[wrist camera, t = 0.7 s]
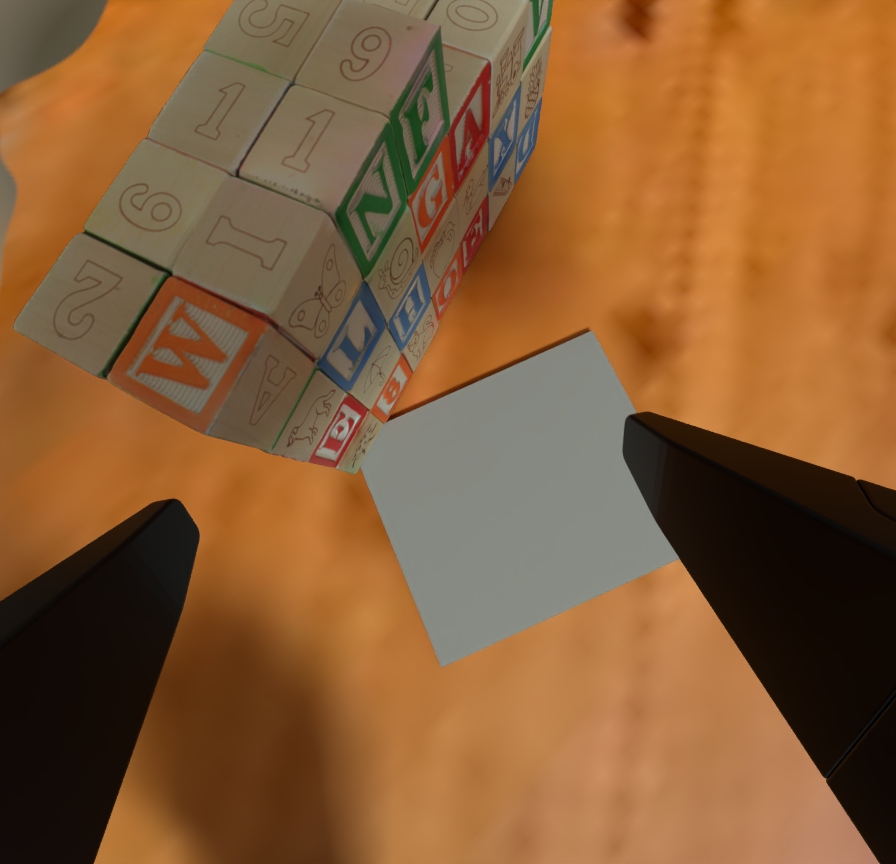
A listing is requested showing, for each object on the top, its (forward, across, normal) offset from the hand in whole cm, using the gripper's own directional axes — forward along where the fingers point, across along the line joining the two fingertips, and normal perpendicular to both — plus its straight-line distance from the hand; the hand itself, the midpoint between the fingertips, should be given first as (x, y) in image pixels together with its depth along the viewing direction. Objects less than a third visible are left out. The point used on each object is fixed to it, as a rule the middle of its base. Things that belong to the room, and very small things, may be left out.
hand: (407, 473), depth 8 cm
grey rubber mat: (+9, -4, +9) cm, 14 cm away
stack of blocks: (+18, 0, 0) cm, 18 cm away
